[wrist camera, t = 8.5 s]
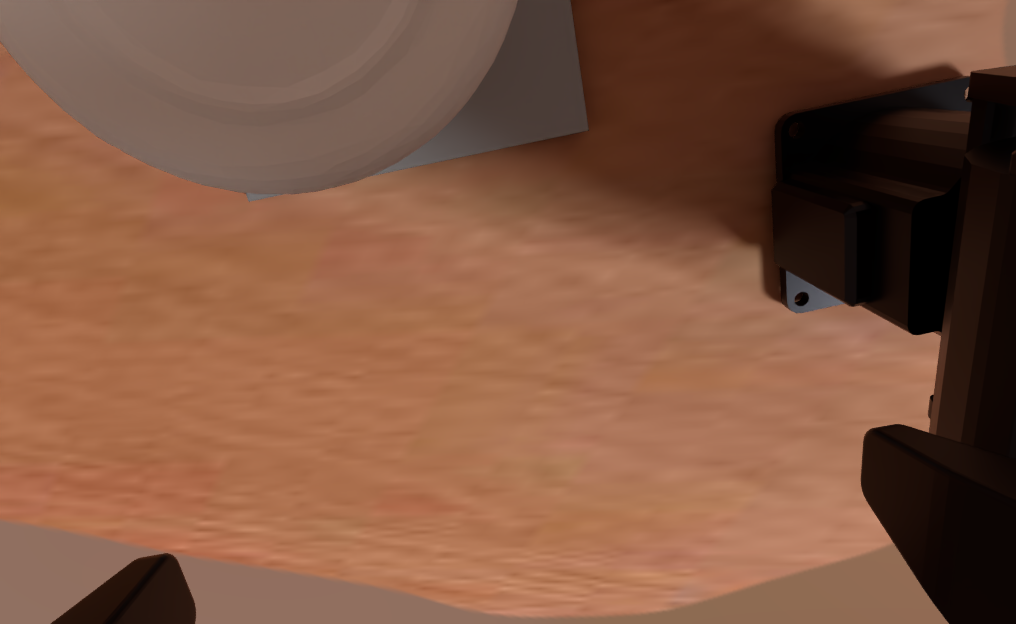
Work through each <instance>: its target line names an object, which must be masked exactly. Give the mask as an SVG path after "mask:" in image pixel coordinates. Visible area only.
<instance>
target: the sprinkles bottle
mask: <svg viewBox="0 0 1016 624" xmlns="http://www.w3.org/2000/svg"><path fill="white" fill-rule="evenodd" d="M517 2H518V0H0V42H1V43H2V44H3V45H4V47H5V48H6V49H7V51H8V52H9V53H10V55H11V56H12V57H13V58H14V59H15V61H16V62H17V63H18V64H19V65H20V66H21V68H22V69H23V70H24V71H25V72H26V73H27V74H28V76H29V77H30V78H31V79H32V80H33V81H34V82H35V83H36V84H37V85H38V86H39V87H40V88H41V89H42V90H43V91H44V92H45V93H46V94H47V95H48V96H49V97H50V98H51V99H52V100H53V101H54V102H55V103H57V104H58V105H59V106H60V107H61V108H62V109H63V110H64V111H65V112H66V113H68V114H69V115H70V116H72V117H73V118H74V119H75V120H77V121H78V122H79V123H81V124H82V125H83V126H84V127H86V128H87V129H88V130H89V131H91V132H92V133H93V134H94V135H95V136H97V137H99V138H100V139H102V140H103V141H105V142H107V143H108V144H110V145H112V146H114V147H116V148H118V149H120V150H121V151H123V152H125V153H127V154H128V155H130V156H132V157H134V158H136V159H138V160H140V161H142V162H144V163H146V164H148V165H150V166H153V167H155V168H158V169H160V170H162V171H165V172H167V173H170V174H172V175H175V176H177V177H180V178H182V179H186V180H189V181H192V182H195V183H198V184H201V185H205V186H210V187H215V188H220V189H225V190H230V191H235V192H242V193H254V194H299V193H308V192H316V191H320V190H325V189H329V188H333V187H337V186H341V185H345V184H348V183H352V182H356V181H359V180H361V179H363V178H366V177H368V176H371V175H373V174H375V173H378V172H380V171H382V170H384V169H386V168H388V167H390V166H392V165H394V164H396V163H397V162H399V161H400V160H402V159H404V158H405V157H407V156H408V155H410V154H411V153H413V152H414V151H416V150H417V149H419V148H420V147H421V146H423V145H424V144H425V143H427V142H428V141H429V140H431V139H432V138H433V137H435V136H436V135H437V134H438V133H439V132H440V131H441V130H442V129H443V128H444V127H445V126H446V125H447V124H448V123H449V122H450V121H451V120H452V119H453V118H454V117H455V116H456V115H457V114H458V112H459V111H460V110H461V109H462V108H463V107H464V105H465V104H466V103H467V102H468V100H469V99H470V98H471V96H472V95H473V93H474V92H475V91H476V89H477V88H478V86H479V84H480V83H481V81H482V80H483V78H484V77H485V75H486V74H487V72H488V70H489V69H490V67H491V66H492V64H493V63H494V61H495V58H496V56H497V54H498V52H499V50H500V48H501V46H502V43H503V41H504V39H505V36H506V34H507V31H508V28H509V25H510V23H511V20H512V17H513V15H514V12H515V9H516V6H517Z"/></svg>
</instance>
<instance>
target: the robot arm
mask: <svg viewBox="0 0 1016 624" xmlns="http://www.w3.org/2000/svg"><path fill="white" fill-rule="evenodd" d="M968 87H969V90H968V97H967V98H966V100H965V99H964V92H965V90H966V89H967V88H968ZM795 122H796V123H797V124H798V132H797V133H796V135H795V136H793V137H790V135H789V128H790V126H791V125H792V124H793V123H795ZM775 156H776V181H777V182H776V184H775V185H774V187H773V189H772V191H771V194H772V218H773V241H774V261H775V263H776V264H777V265H779V266H780V282H781V300H782V303H783V304H784V306H785V307H786V308H788V309H789V310H791V311H793V312H795V313H804V312H808V311H813V310H817V309H822V308H826V307H831V306H836V305H840V304H847V305H848V306H851V307H854V306H859V305H860V306H862V307H863V308H865V309H867V310H869V311H871V312H872V313H874V314H876V315H878V316H880V317H882V318H883V319H885V320H887V321H889V322H891V323H892V324H894V325H896V326H898V327H900V328H902V329H903V330H905V331H907V332H909V333H911V334H912V335H921V334H926V333H930V332H934V333H936V334H938V335H940V336H941V342H940V350H939V357H938V365H937V373H936V381H935V389H934V395H931V396H930V401H929V409H928V416H929V418H930V428H929V433H928V432H925V431H922V430H918V429H915V428H912V427H909V426H905V425H901V424H894V425H888V426H882V427H877V428H872V429H870V430H869V431H867V432H866V434H865V436H864V441H863V454H862V469H861V487H862V491H863V494H864V496H865V499H866V501H867V502H868V504H869V505H870V507H871V509H872V510H873V512H874V513H875V515H876V516H877V518H878V519H879V521H880V523H881V524H882V526H883V527H884V529H885V530H886V532H887V533H888V535H889V536H890V538H891V540H892V541H893V543H894V544H895V546H896V547H897V549H898V550H899V552H900V553H901V555H902V557H903V558H904V560H905V561H906V563H907V564H908V566H909V567H910V569H911V570H912V572H913V573H914V575H915V576H916V578H917V580H918V581H919V583H920V584H921V586H922V587H923V589H924V590H925V592H926V593H927V595H928V596H929V598H930V599H931V600H932V602H933V603H934V604H935V606H936V607H937V609H938V610H939V611H940V612H941V614H942V615H943V616H944V618H945V619H946V620H947V622H948V623H949V624H1016V65H1014V66H1006V67H999V68H992V69H984V70H977V71H972V72H971V74H970V76H961V77H956V78H952V79H947V80H942V81H937V82H933V83H928V84H923V85H918V86H914V87H909V88H904V89H899V90H895V91H890V92H885V93H880V94H876V95H871V96H866V97H861V98H857V99H852V100H847V101H842V102H838V103H833V104H828V105H823V106H818V107H814V108H809V109H804V110H799V111H795V112H790V113H788V114H785V115H783V116H782V117H781V118H780V119H779V120H778V122H777V124H776V126H775ZM800 292H803V295H802V298H801V299H800V300H799V301H797V302H794V299H795V296H796V295H797V294H798V293H800ZM195 621H196V608H195V603H194V600H193V597H192V595H191V592H190V590H189V587H188V585H187V582H186V580H185V577H184V575H183V572H182V570H181V567H180V565H179V563H178V561H177V559H176V558H175V557H174V556H173V555H171V554H168V553H165V554H159V555H154V556H148V557H142V558H138V559H136V560H134V561H133V562H131V563H130V564H129V565H127V566H126V567H125V568H123V569H122V570H121V571H119V572H118V573H117V574H115V575H114V576H113V577H112V578H110V579H109V580H108V581H106V582H105V583H104V584H102V585H101V586H100V587H98V588H97V589H96V590H95V591H93V592H92V593H90V594H89V595H88V596H86V597H85V598H84V599H82V600H81V601H80V602H79V603H77V604H76V605H75V606H73V607H72V608H71V609H69V610H68V611H67V612H66V613H64V614H63V615H61V616H60V617H59V618H57V619H56V620H55V621H53V622H52V623H51V624H195Z"/></svg>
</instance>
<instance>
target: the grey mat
mask: <svg viewBox="0 0 1016 624" xmlns="http://www.w3.org/2000/svg"><path fill="white" fill-rule="evenodd" d="M584 131H589V129H588V121H587V114H586V107H585V100H584V93H583V86H582V79H581V72H580V65H579V58H578V50H577V43H576V36H575V29H574V22H573V15H572V8H571V1H570V0H518V2H517V6H516V9H515V12H514V15H513V17H512V20H511V23H510V25H509V28H508V31H507V34H506V36H505V39H504V41H503V43H502V46H501V48H500V50H499V52H498V54H497V56H496V58H495V61H494V63H493V64H492V66H491V67H490V69H489V70H488V72H487V74H486V75H485V77H484V78H483V80H482V81H481V83H480V84H479V86H478V88H477V89H476V91H475V92H474V93H473V95H472V96H471V98H470V99H469V100H468V102H467V103H466V104H465V105H464V107H463V108H462V109H461V110H460V111H459V112H458V114H457V115H456V116H455V117H454V118H453V119H452V120H451V121H450V122H449V123H448V124H447V125H446V126H445V127H444V128H443V129H442V130H441V131H440V132H439V133H438V134H437V135H436V136H435V137H433V138H432V139H431V140H429V141H428V142H427V143H425V144H424V145H423V146H421V147H420V148H419V149H417V150H416V151H414V152H413V153H411V154H410V155H408V156H407V157H405V158H404V159H402V160H400V161H399V162H397V163H396V164H394V165H392V166H390V167H388V168H386V169H384V170H382V171H380V172H378V173H375V174H373V175H378V174H383V173H388V172H393V171H397V170H402V169H407V168H412V167H417V166H421V165H426V164H431V163H436V162H440V161H445V160H450V159H455V158H460V157H464V156H469V155H474V154H479V153H483V152H488V151H493V150H498V149H503V148H507V147H512V146H517V145H522V144H526V143H531V142H536V141H541V140H546V139H550V138H555V137H560V136H565V135H569V134H574V133H579V132H584ZM373 175H371V176H373ZM368 177H369V176H368ZM246 195H247V198H248V201H254V200H259V199H264V198H268V197H273V196H278V195H283V194H254V193H246Z"/></svg>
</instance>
